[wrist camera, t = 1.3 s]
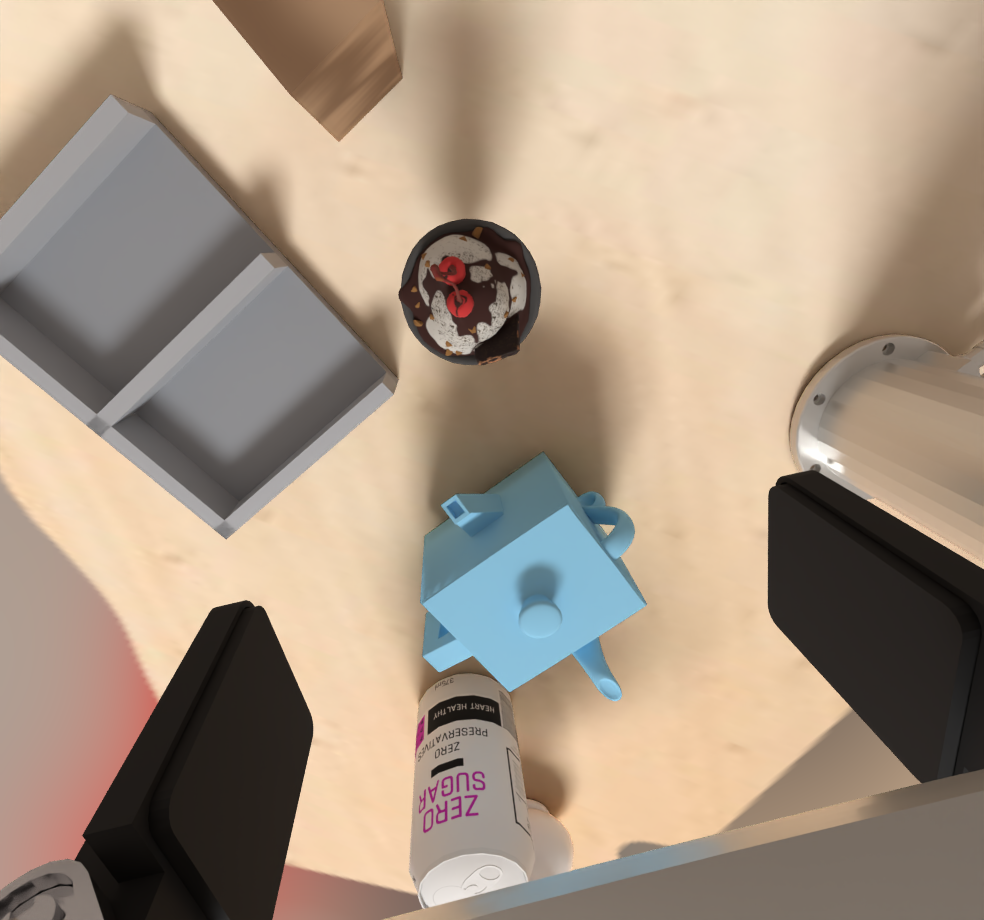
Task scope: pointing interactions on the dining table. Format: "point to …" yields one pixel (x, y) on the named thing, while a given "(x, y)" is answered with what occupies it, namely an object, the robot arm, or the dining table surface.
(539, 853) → the flower vase
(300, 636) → the dining table surface
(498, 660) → the teapot
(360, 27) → the walnut block
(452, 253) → the sundae
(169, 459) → the grey divided tray
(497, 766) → the soda can
